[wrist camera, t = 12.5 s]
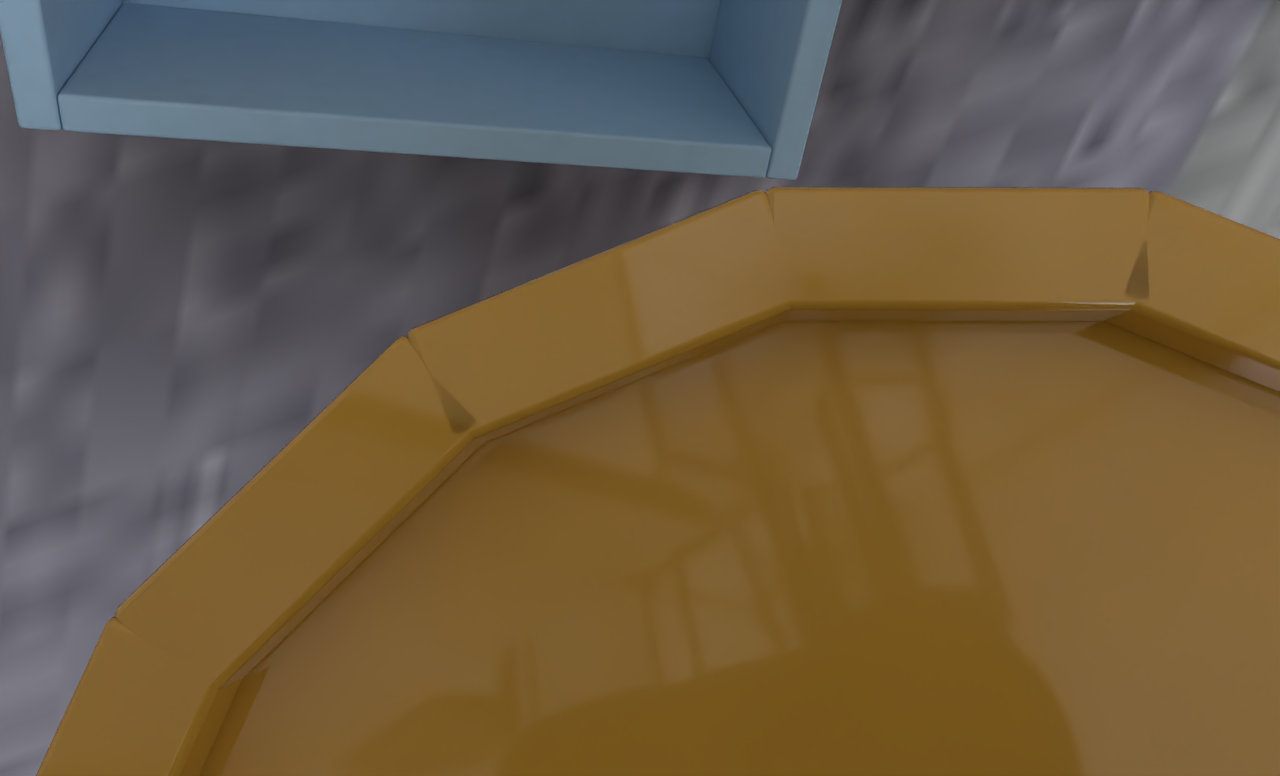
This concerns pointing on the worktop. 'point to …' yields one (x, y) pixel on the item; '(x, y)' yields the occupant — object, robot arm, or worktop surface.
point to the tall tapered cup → (760, 516)
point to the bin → (437, 76)
